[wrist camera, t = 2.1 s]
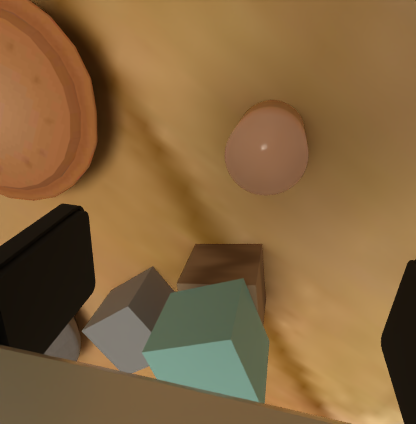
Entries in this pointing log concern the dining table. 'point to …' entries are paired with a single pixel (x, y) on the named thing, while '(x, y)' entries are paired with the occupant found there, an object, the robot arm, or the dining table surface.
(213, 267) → the block
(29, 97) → the pie
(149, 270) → the block
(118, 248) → the dining table surface
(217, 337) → the tower top
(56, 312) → the robot arm
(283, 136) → the pink rounded piece
